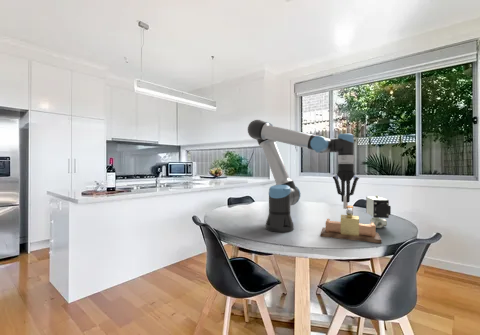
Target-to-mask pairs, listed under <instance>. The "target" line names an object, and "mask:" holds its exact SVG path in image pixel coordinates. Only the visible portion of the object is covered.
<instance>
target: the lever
mask: <svg viewBox="0 0 480 335" xmlns="http://www.w3.org/2000/svg"><path fill="white" fill-rule="evenodd" d="M345 213H346V214H345V215H347V214H348V215H353V216H354V206H353V205H348V207H347V209H346V212H345Z"/></svg>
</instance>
